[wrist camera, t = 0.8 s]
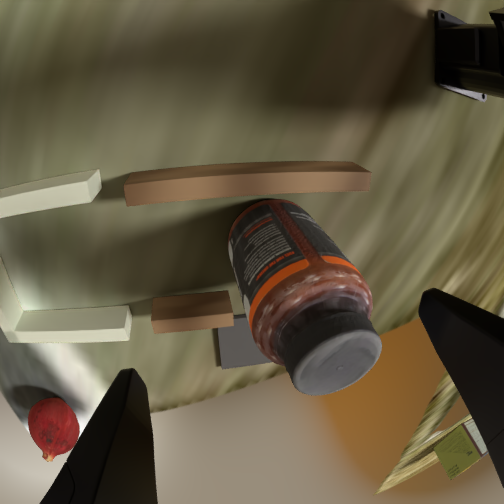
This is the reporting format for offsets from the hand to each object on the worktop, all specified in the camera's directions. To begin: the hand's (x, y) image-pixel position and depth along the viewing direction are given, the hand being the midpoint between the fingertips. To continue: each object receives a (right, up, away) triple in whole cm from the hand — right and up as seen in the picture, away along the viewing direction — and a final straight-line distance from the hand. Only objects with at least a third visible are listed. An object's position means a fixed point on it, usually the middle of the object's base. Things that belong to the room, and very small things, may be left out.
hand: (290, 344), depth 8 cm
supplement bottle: (0, +4, +13) cm, 13 cm away
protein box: (+68, -59, +65) cm, 111 cm away
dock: (-16, +2, +10) cm, 18 cm away
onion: (-22, -13, +17) cm, 31 cm away
